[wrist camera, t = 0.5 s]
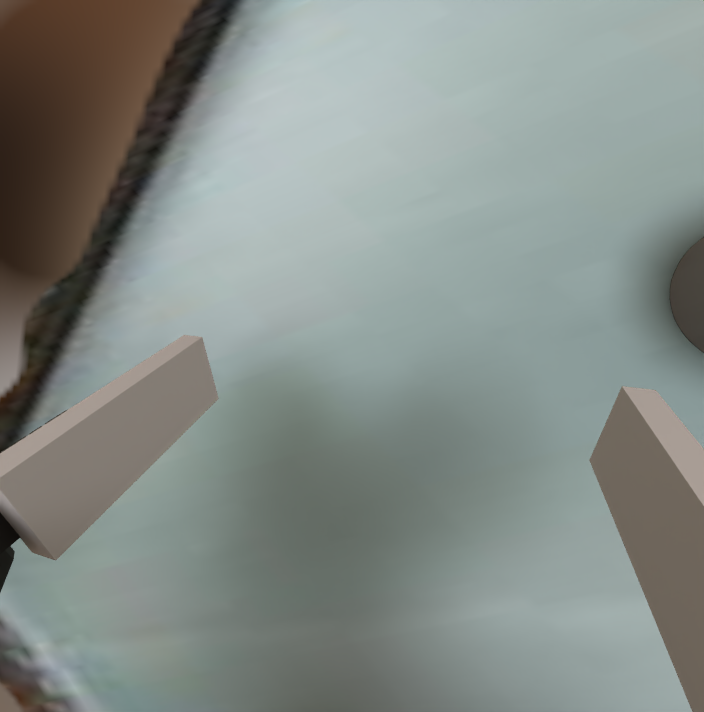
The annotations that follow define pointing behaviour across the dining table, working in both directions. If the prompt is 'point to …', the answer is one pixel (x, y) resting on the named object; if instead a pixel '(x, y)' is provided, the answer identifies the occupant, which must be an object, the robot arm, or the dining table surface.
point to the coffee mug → (690, 294)
